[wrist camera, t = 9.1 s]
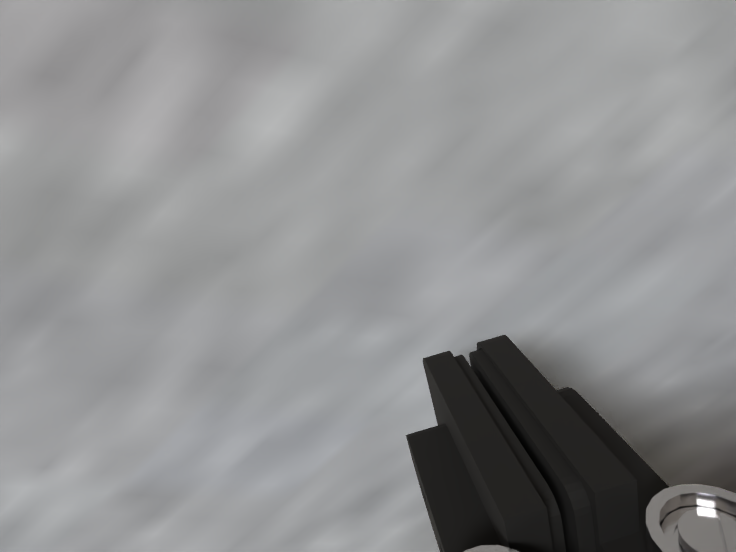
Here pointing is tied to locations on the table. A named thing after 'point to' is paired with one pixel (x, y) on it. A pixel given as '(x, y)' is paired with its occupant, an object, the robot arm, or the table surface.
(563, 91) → the table surface
